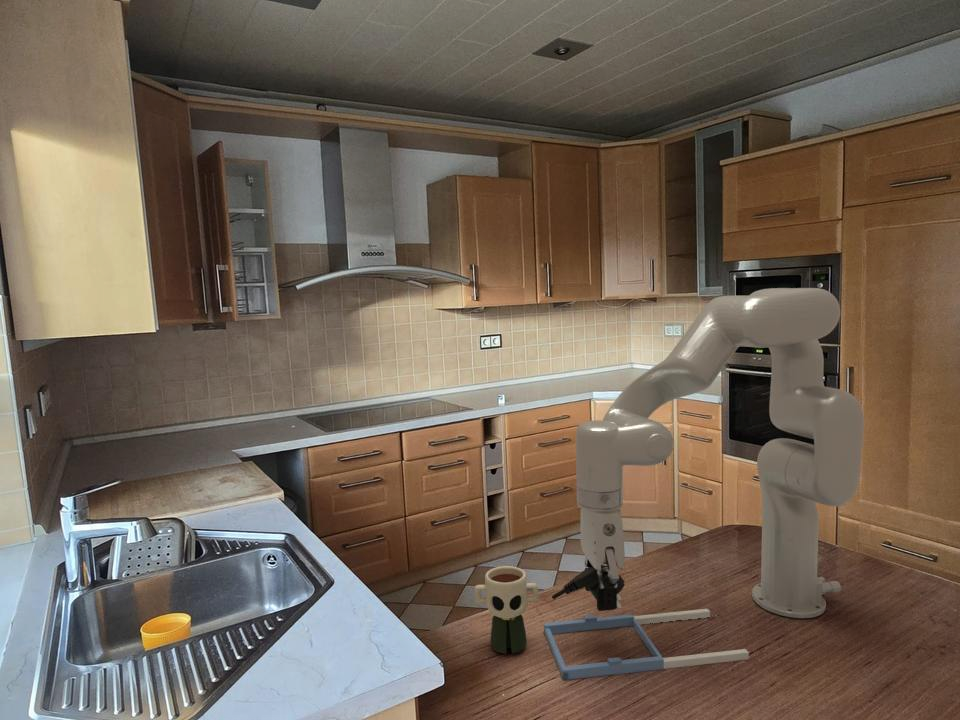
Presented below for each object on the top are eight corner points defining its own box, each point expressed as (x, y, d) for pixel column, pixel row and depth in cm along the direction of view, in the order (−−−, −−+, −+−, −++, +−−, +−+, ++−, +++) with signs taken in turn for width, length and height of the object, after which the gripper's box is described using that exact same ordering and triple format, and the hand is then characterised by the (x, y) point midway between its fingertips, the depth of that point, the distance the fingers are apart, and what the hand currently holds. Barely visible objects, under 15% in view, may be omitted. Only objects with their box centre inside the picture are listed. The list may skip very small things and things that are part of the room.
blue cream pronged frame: (707, 614, 114) (707, 603, 114) (748, 659, 101) (748, 646, 100) (544, 631, 111) (543, 620, 111) (563, 680, 97) (563, 667, 97)
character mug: (476, 659, 103) (473, 584, 102) (478, 636, 110) (474, 566, 109) (541, 657, 103) (538, 582, 102) (539, 634, 110) (536, 564, 109)
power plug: (552, 586, 109) (608, 552, 106) (577, 621, 109) (634, 588, 106) (548, 601, 104) (606, 566, 100) (574, 639, 103) (634, 604, 100)
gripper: (640, 512, 94) (641, 624, 96) (604, 478, 111) (605, 574, 113) (593, 516, 93) (594, 629, 95) (564, 481, 110) (565, 577, 112)
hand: (600, 598), depth 104 cm, fingers closed on power plug, 5 cm apart
